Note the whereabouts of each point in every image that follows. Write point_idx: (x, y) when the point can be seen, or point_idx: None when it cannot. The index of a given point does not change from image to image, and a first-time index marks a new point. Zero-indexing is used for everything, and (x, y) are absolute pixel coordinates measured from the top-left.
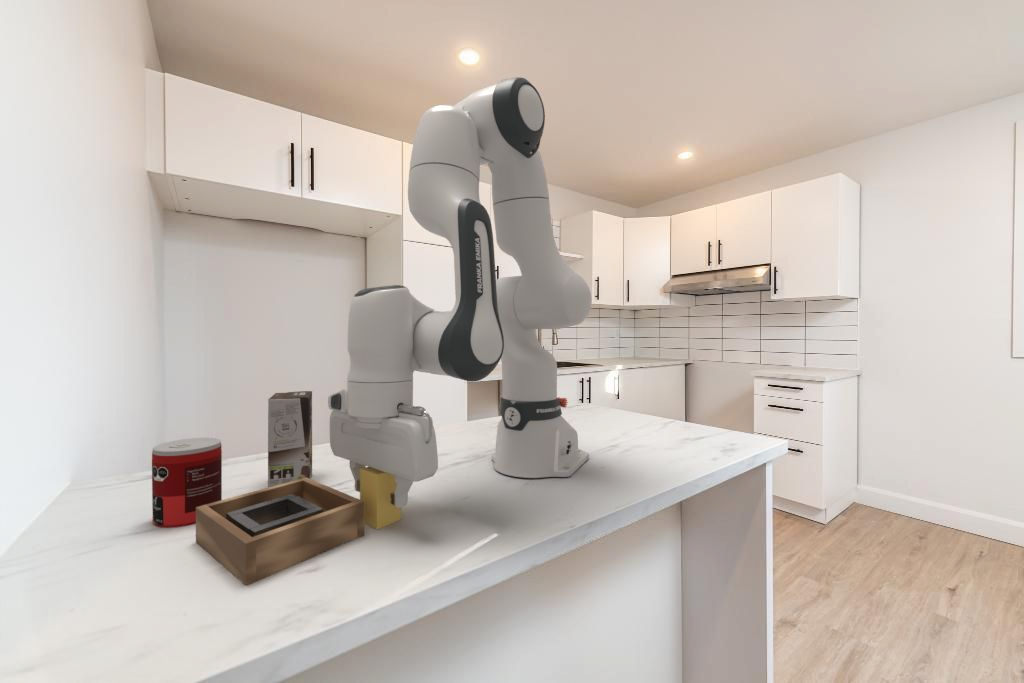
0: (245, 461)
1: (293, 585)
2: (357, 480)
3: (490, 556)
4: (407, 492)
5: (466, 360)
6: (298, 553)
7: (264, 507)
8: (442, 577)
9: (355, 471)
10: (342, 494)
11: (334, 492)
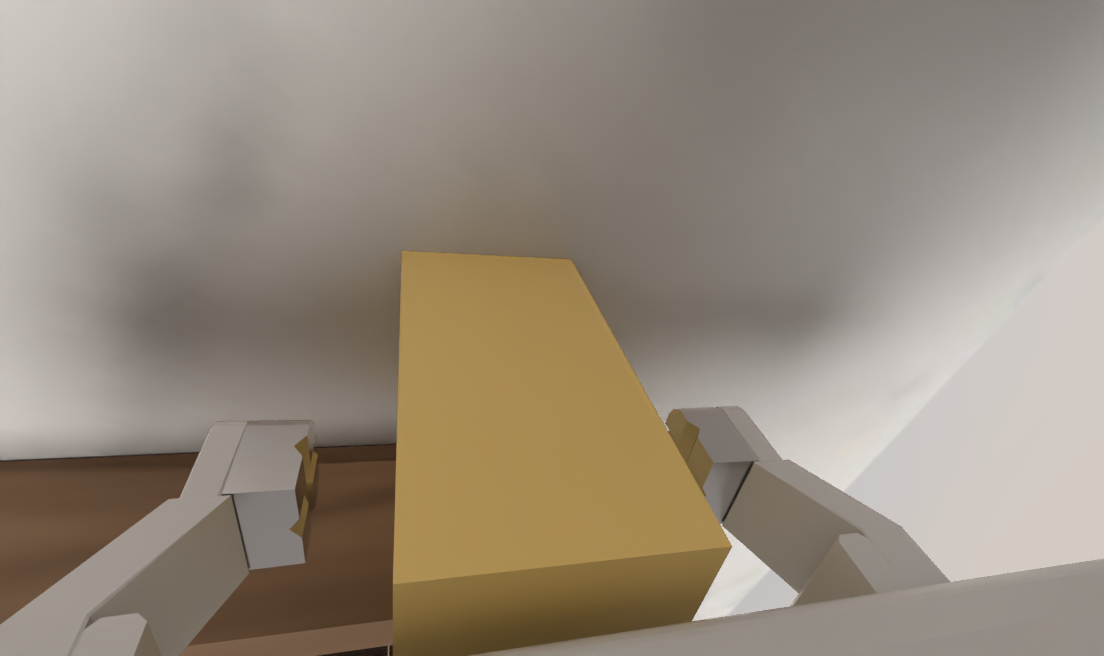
0: None
1: None
2: (248, 568)
3: (1051, 256)
4: (776, 455)
5: None
6: None
7: None
8: (909, 415)
9: (176, 650)
10: (373, 631)
11: (294, 649)
